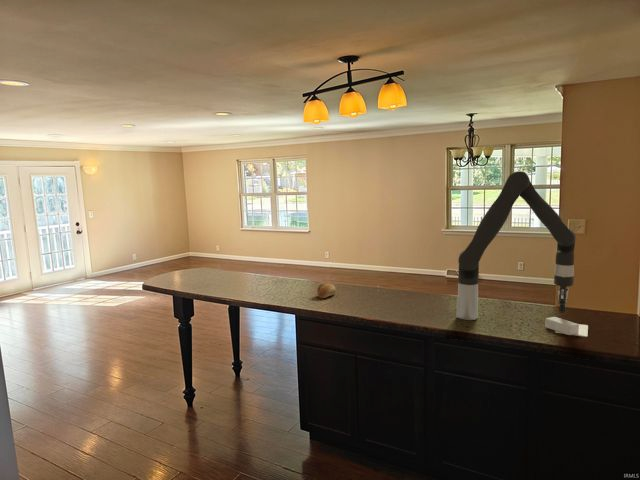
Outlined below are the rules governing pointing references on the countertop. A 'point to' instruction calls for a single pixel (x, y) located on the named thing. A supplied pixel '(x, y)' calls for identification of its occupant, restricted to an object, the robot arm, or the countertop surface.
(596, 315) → the countertop surface
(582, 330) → the mat
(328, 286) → the bread roll
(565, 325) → the skincare box
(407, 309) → the countertop surface
